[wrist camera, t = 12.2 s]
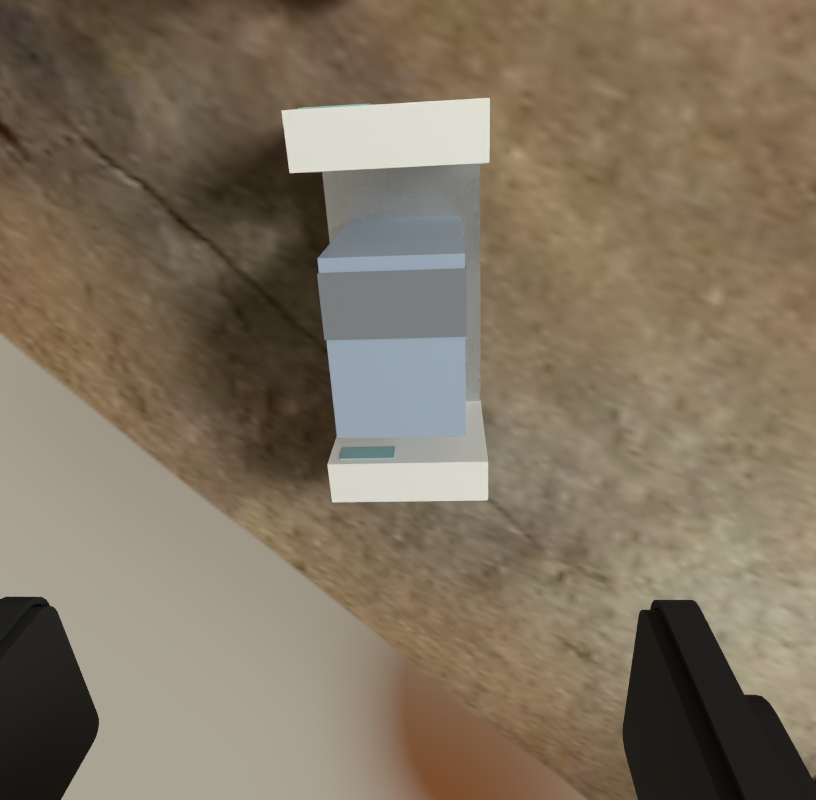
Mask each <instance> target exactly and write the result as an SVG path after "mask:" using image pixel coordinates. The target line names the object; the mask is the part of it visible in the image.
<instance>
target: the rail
mask: <svg viewBox="0 0 816 800" xmlns="http://www.w3.org/2000/svg"><path fill="white" fill-rule="evenodd" d="M322 175H323V185H324V194H325V203H326V213H327V222H328V231H329V241H330V243H331V242H332V241H333V239H334V238H335V237H336V236H337V235H338V234H339V232H340V231H341V230H342V229H343V228H344V227H345V225H346V224H347V223H348V222H349V221H350V220H357V219H383V218H409V217H435V216H460V223H461V230H462V236H463V243H464V250H465V263H466V268H467V336H465V369H466V401H480V163H475V164H456V165H437V166H418V167H399V168H380V169H371V170H352V171H333V172H322Z"/></svg>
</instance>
